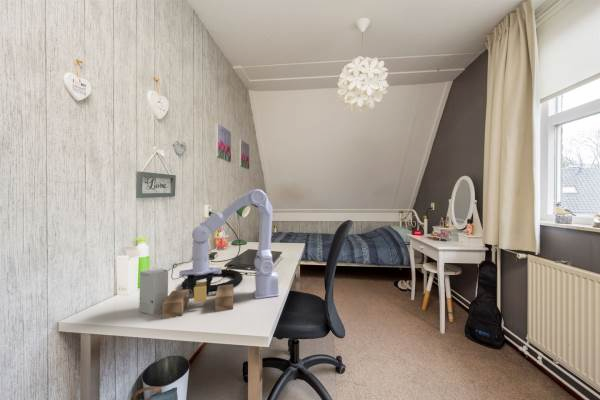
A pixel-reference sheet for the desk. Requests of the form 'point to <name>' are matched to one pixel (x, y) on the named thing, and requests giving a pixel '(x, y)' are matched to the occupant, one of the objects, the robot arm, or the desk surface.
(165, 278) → the skincare box
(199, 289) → the yellow block
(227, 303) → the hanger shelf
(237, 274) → the cable lock
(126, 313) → the desk surface
